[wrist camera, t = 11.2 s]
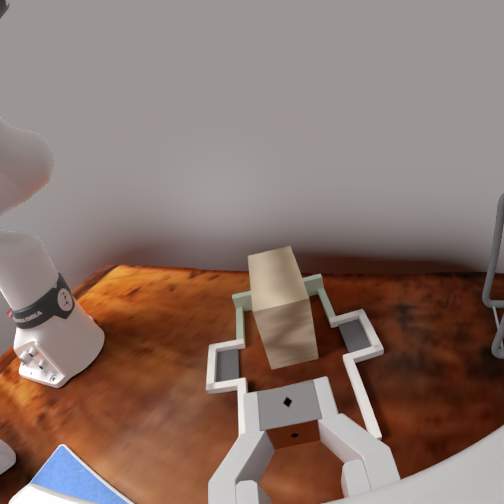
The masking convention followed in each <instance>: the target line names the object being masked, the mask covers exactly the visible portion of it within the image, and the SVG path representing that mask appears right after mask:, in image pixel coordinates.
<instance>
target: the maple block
mask: <svg viewBox="0 0 504 504" xmlns="http://www.w3.org/2000/svg"><path fill="white" fill-rule="evenodd" d="M248 264H249V276H250V288H251V299H252V311H253V315H254V318H255V321H256V324H257V327H258V330H259V333H260V336H261V339H262V342H263V345H264V348H265V351H266V354H267V357H268V360H269V363H270V366H271V369H276V368H281V367H285V366H290V365H294V364H298V363H302V362H307V361H311V360H315V359H318V351H317V344H316V338H315V331H314V325H313V318H312V312H311V306H310V300H309V296H308V293H307V291H306V288H305V285H304V282H303V279H302V276H301V274H300V271H299V268H298V266H297V263H296V260H295V257H294V254H293V252H292V249H291V246H287V247H283V248H279V249H275V250H271V251H267V252H263V253H259V254H255V255H251V256H248Z"/></svg>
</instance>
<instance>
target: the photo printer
mask: <svg viewBox="0 0 504 504" xmlns="http://www.w3.org/2000/svg"><path fill="white" fill-rule="evenodd" d="M15 462H16V454H15V452H14V451H13V450H12V448H11V447H10V446H9V445H7V444H6V443H5V442H4V441H2V440H1V439H0V474H2V473H3V472H5V471H6V470H7V469H9V468H10V467H11V466H13V465H14V463H15Z"/></svg>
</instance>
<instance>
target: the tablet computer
mask: <svg viewBox="0 0 504 504" xmlns="http://www.w3.org/2000/svg"><path fill="white" fill-rule="evenodd" d="M31 483H33V484H37V485H40V486H42V487H45V488H48V489H51V490H54V491H57V492H60V493H63V494H66V495H70V496H73V497H77V498H80V499H84V500H88V501H92V502H96V503H101V504H135V503H134V502H132V501H131V500H129V499H128V498H127V497H125V496H124V495H123V494H121V493H120V492H119V491H117V490H116V489H115V488H114V487H112V486H111V485H110V484H109V483H107V482H106V481H105V480H104V479H102V478H101V477H100V476H99V475H98V474H97V473H95V472H94V471H93V470H92V469H91V468H90V467H89V466H88V465H86V464H85V463H84V462H83V461H82V460H81V459H80V458H79V457H78V456H77V455H76V454H75V453H74V452H73V451H72V450H71V449H70V448H69V447H68V446H66V445H64V444H62V445H60V446H59V447H58V448H57V449H56V451H55V452H54V453H53V454H52V456H51V457H50V458H49V459H48V460H47V462H46V463H45V464H44V465H43V467H42V468H41V469H40V470H39V472H38V473H37V474H36V475H35V477H34V478H33V479H32V480H31V482H30V483H29V484H31Z"/></svg>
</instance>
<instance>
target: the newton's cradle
mask: <svg viewBox="0 0 504 504" xmlns="http://www.w3.org/2000/svg"><path fill="white" fill-rule="evenodd" d="M503 224H504V193H503V194H502V196H501V197H500V199H499V202H498V206H497V216H496V225H495V232H494V239H493V246H492V251H491V257H490V262H489V267H488V272H487V277H486V281H485V285H484V289H483V293H482V300H483V303H484V304H485V306H487V307H489V308H493V311H494V315H495V320H496V324H497V329H498V331H497V333H496V336H495V338H494V341H493V343H492V347H491V350H492V354H493V355H494V356H495V357H497V358H501V359H504V347H503V341H502V340H503V338H504V315H503V317H502V320H501V323H500V326H499V322H498V317H497V313H496V309H495V308H504V300H490V299H489V294H490V290H491V286H492V282H493V278H494V274H495V269H496V264H497V260H498V254H499V249H500V244H501V238H502V231H503ZM500 346H501V349H500V348H499V347H500Z"/></svg>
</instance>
